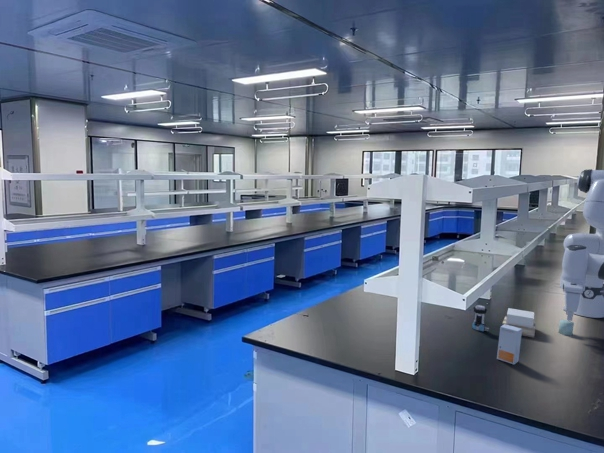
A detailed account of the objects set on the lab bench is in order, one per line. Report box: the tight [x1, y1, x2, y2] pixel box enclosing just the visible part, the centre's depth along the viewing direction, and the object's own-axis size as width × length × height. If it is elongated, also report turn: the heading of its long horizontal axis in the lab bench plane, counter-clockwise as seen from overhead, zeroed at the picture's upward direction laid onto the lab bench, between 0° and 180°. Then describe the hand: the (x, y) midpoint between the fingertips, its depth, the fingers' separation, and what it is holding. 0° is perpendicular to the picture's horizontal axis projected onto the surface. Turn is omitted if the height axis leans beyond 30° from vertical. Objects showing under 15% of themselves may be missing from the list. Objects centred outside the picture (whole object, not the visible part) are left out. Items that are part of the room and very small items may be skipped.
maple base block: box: [501, 315, 537, 339], centre depth 186 cm, size 12×12×4 cm
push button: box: [471, 304, 490, 332], centre depth 184 cm, size 7×5×10 cm
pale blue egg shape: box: [558, 319, 575, 337], centre depth 184 cm, size 5×5×5 cm
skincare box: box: [496, 324, 523, 366], centre depth 153 cm, size 6×4×12 cm
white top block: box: [506, 307, 535, 328], centre depth 185 cm, size 10×10×4 cm
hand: (568, 317), depth 183 cm, fingers open, 8 cm apart
